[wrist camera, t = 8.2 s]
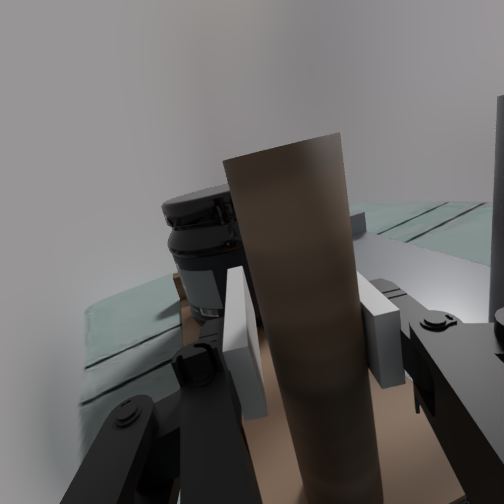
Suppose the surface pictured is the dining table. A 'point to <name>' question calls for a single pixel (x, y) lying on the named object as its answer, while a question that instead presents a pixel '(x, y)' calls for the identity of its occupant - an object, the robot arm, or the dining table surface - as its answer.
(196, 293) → the supplement container
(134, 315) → the dining table surface
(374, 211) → the dining table surface
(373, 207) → the dining table surface
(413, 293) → the grey l-shaped stand
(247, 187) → the wooden peg stand
